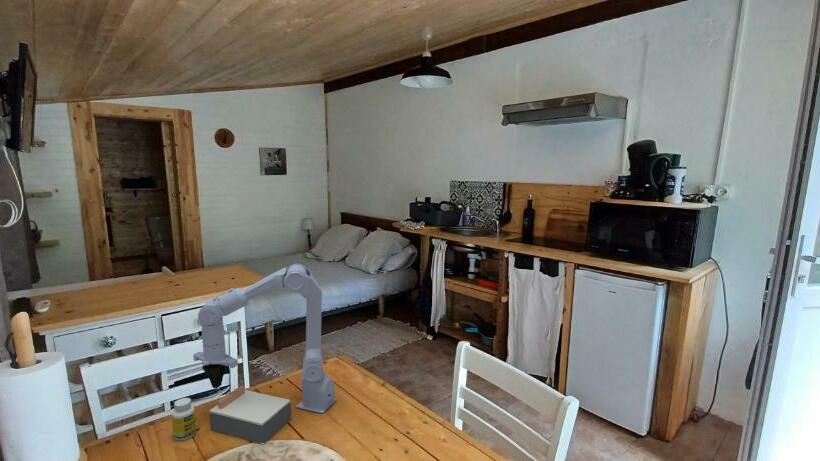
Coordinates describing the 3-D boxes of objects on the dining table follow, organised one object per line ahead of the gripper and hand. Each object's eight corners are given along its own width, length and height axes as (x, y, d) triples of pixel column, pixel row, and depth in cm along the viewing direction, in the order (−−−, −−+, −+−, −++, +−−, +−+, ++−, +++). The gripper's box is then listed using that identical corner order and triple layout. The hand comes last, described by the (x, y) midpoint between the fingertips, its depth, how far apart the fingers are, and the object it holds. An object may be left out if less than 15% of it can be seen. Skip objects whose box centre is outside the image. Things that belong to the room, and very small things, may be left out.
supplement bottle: (186, 442, 107) (183, 408, 106) (169, 439, 109) (165, 406, 107) (200, 430, 113) (198, 397, 111) (184, 427, 114) (181, 395, 112)
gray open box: (291, 418, 118) (290, 402, 117) (263, 444, 107) (262, 427, 106) (242, 406, 124) (241, 391, 123) (210, 430, 113) (209, 413, 112)
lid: (290, 401, 117) (290, 392, 117) (262, 426, 106) (261, 416, 105) (241, 390, 123) (240, 382, 123) (209, 412, 112) (208, 403, 112)
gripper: (183, 344, 115) (186, 388, 117) (222, 351, 110) (226, 398, 112) (203, 335, 121) (206, 377, 123) (241, 341, 116) (244, 385, 118)
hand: (217, 386), depth 118 cm, fingers closed
